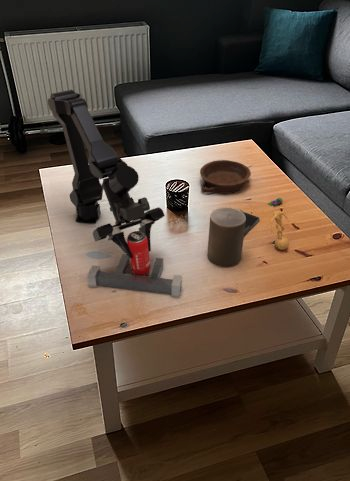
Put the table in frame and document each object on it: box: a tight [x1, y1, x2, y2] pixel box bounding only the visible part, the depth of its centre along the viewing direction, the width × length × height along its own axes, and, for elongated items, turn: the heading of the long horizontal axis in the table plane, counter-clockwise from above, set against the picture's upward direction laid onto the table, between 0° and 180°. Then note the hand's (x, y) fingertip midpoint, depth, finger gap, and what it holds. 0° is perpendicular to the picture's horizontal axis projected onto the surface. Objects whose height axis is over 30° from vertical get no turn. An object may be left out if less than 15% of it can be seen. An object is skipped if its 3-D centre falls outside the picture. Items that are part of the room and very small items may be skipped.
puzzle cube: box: [267, 197, 283, 208], centre depth 158 cm, size 4×3×2 cm
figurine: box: [270, 210, 290, 251], centre depth 137 cm, size 8×6×12 cm
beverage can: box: [126, 230, 152, 276], centre depth 126 cm, size 5×5×12 cm
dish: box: [199, 159, 252, 194], centre depth 168 cm, size 18×22×5 cm
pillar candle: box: [206, 206, 246, 268], centre depth 132 cm, size 10×10×15 cm
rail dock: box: [87, 253, 183, 298], centre depth 128 cm, size 24×11×4 cm, turn 80°
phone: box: [240, 210, 260, 237], centre depth 148 cm, size 8×1×15 cm
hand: (140, 254), depth 124 cm, fingers closed on beverage can, 5 cm apart
